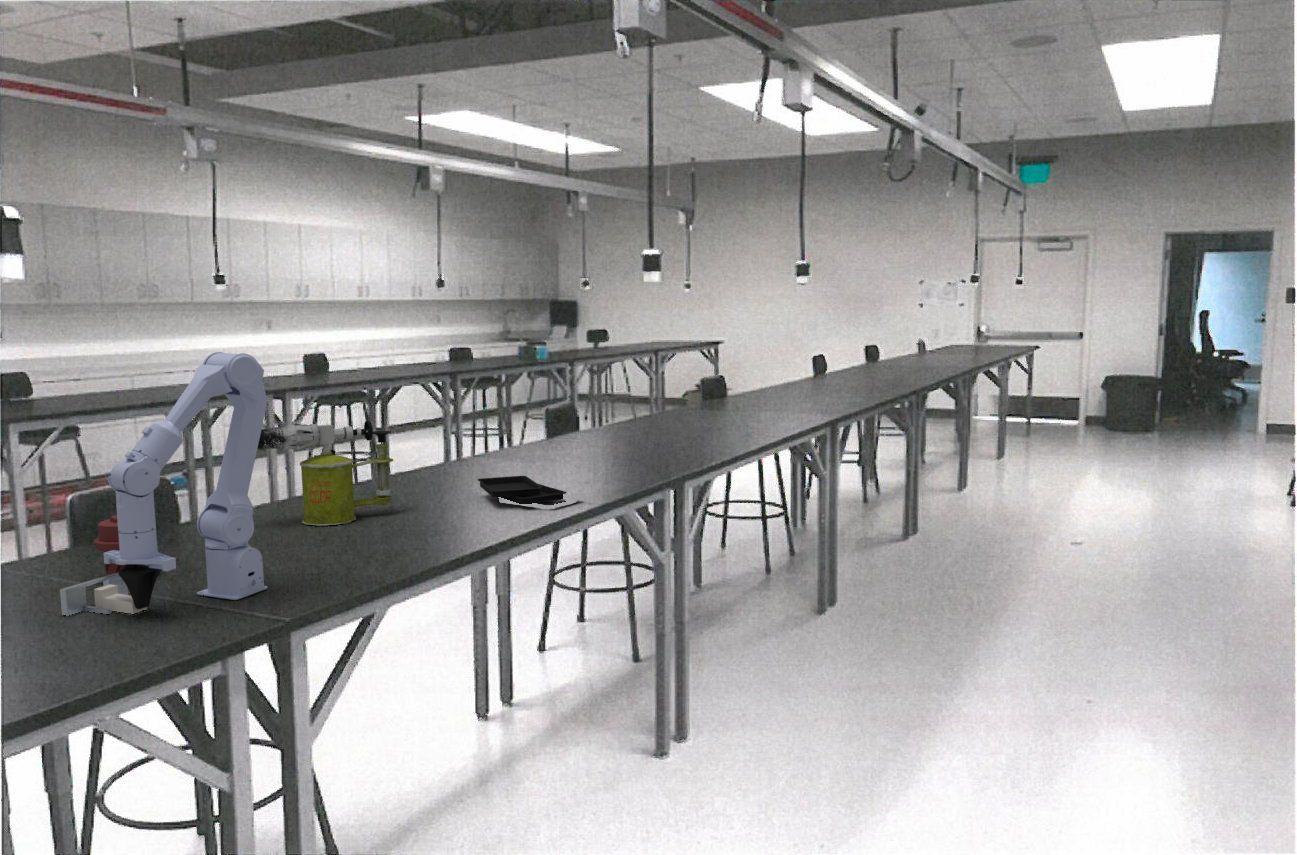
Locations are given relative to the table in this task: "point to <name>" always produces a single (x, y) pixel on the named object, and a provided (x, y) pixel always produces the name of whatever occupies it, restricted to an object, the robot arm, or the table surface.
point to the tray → (520, 490)
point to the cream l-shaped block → (114, 600)
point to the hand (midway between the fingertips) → (142, 607)
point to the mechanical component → (109, 541)
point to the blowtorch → (329, 470)
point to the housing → (76, 595)
